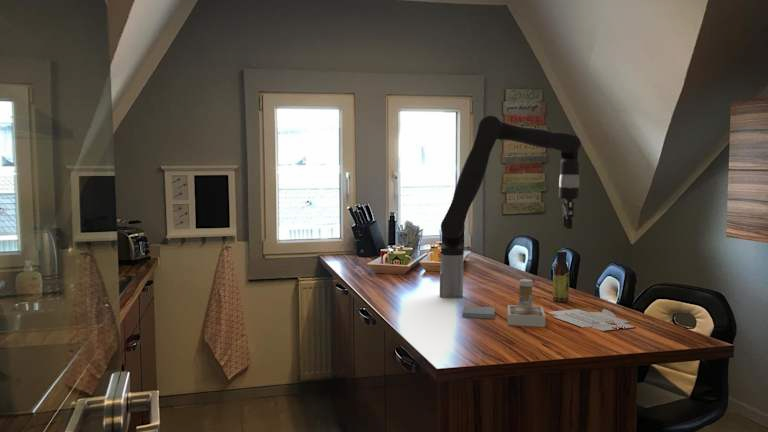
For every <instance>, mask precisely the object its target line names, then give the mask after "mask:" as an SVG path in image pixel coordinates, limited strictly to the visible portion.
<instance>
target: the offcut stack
mask: <svg viewBox="0 0 768 432" xmlns="http://www.w3.org/2000/svg"><path fill="white" fill-rule="evenodd" d="M515 314H517V315H536V316H540V311H539V309H538V308H515Z"/></svg>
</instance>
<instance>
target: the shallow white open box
mask: <svg viewBox="0 0 768 432" xmlns="http://www.w3.org/2000/svg"><path fill="white" fill-rule="evenodd" d="M515 308H519V304H518V305H517V304H516V305H515V304H514V305H512V304H507V307H506V309H507V310H506V311H507V314H506V315H507V325H508V326H518V327H519V326H521V327H537V328H538V327H540V328H546V319H547V318H546V314H545V311H544V308H543V306H539V305H538V306H537V305H536V306H534V305H532V308H538V309H539V311H540V316H536V315H517V314H515Z"/></svg>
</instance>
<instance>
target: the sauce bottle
mask: <svg viewBox="0 0 768 432" xmlns="http://www.w3.org/2000/svg"><path fill="white" fill-rule="evenodd" d="M555 254H556V255H555V256H556V263H555V264H554V266H553V272H552V300H553V301H554V302H558V303H565V302H566V303H567V302H569V297H570V269H569V266H568V262H567V256H568V251H567V250H557V251H556V252H555Z"/></svg>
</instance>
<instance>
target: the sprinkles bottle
mask: <svg viewBox="0 0 768 432" xmlns="http://www.w3.org/2000/svg"><path fill="white" fill-rule="evenodd" d="M518 283H519V284H518V285H519V291H518V292H519V295H518V296H519V299H518V306H519V308H532V306H533V286H534V280H532V279H526V278H524V279H519V281H518Z"/></svg>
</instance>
